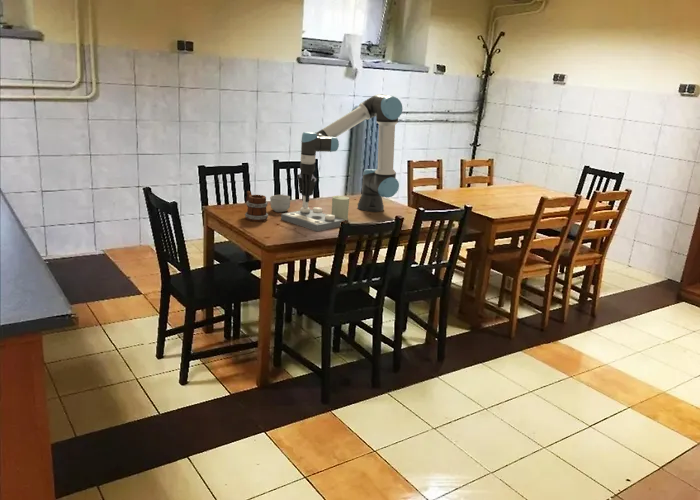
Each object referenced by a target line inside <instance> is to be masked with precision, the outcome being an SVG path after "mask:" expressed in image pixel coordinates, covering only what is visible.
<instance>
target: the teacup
mask: <svg viewBox="0 0 700 500" xmlns="http://www.w3.org/2000/svg"><path fill="white" fill-rule="evenodd" d="M269 199H270V200H269V201H270V208H271V210H273V211H274V212H276V213H284V212H285V213H286V212H287V211H288V210H289V209H290V207H291V196H290V195H285V194H275V195H274V194H273V195H271V196H270V197H269Z"/></svg>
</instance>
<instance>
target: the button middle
mask: <svg viewBox="0 0 700 500" xmlns="http://www.w3.org/2000/svg"><path fill="white" fill-rule="evenodd" d="M312 210H313V213H323V208H322V207H318V206H317V207H312Z"/></svg>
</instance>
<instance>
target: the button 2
mask: <svg viewBox="0 0 700 500" xmlns="http://www.w3.org/2000/svg"><path fill="white" fill-rule="evenodd" d="M325 220H328V221H334V220H335V215H331V213H330V214H329V213H328V214H327V215H325Z"/></svg>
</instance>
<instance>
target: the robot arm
mask: <svg viewBox="0 0 700 500" xmlns="http://www.w3.org/2000/svg"><path fill="white" fill-rule="evenodd" d="M403 109H404V108H403V103H402V102H401V100H400V99H399V98H398V97H397V96H394V95H388V94H375V95H373V96H371V97H369V98H367V99H366V100H364V101H362V102H360V103H359V105H358V107H356V108H355V109H353V110H351V111H349V112H348V113H346V114H345V115H343V116H342V117H340V118H339V119H336V120H335V121H334V122H332V123H330V124H329V125H327V126H325V127H324V128H322V129H320V130H319V131H317V132H314V131H313V132H312V131H304V132H303V133H302V135H301V139H300V141H301V142H300V143H301V147H300V148H301V149H300V165H299V166H300V167H299V169H300V173H299V174H296V177H297V183H298V190H299V191H298V192H299V194H301V198H302V199H301V200H302V204H301V205H302V208H309V202H310V196H313V195H314V190H315V187H316V183H317V181H318V178H317V177H315V173H314V172H315V170H316V164H315V163H316V157H317V155H316V153H317V152H330V153H331V152H337V151H338V149H339V147H340V146H339V145H340V143H339V142H340V141H339V139H338V137H339V136H340V135H342V134H344V133H346V132H347V131H349V130H350V129H352V128H354V127H355V126H357V125H358V124H360V123H362V122H364V121H365V120H370V119H373V118H376V120H375V121H376V123H377V124H378V147H377V149H378V150H377V169H376V168H372V169H371V168H367V169H364V170H363V173H362V185H361V195H360V198H359V200H358V203H357V209H358V210H361V211H364V212H372V213H373V212H383V211H384V207H385V205H384V202H383V198H388V199H390V198H392V197H393V196H395V195H396V194H397V193H398V192H399V188H400V183H399V181H398V179H397V178H396V177H397V172H396V171H395V169H394V164H395V163H394V161H395V159H394V156H395V137H396V135H395V134H396V133H395V132H396V125H397V124H398V123H399V118H400V117H401V115H402V114H403Z"/></svg>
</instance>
